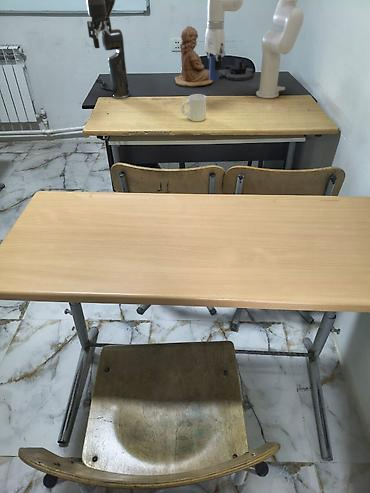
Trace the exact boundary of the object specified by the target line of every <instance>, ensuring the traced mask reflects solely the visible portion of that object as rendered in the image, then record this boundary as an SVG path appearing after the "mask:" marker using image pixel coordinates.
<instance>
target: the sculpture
mask: <svg viewBox="0 0 370 493" xmlns="http://www.w3.org/2000/svg"><path fill="white" fill-rule="evenodd" d="M180 38H181V43H180V44H179V48H180V54H181V56H180V60H181V68H182V69H181V74H180V75H178V76H175V77H174V81H175V84H177V85H178V86H181V87H201V86H208V85H210V84H212V83H213V82H214V80H210V79H209V69H208V68H207V69H205V65H204V64H203V63H202V59H201V57H200V56H199V54H198V53H197V52H196V51H195V50H194V49H195V48H196V47H197V44H198V43H197V39H198V38H199V34H198V30H197V29H196V28H195V27H192V26H186V27H185V28H184V29H182V31H181V35H180Z"/></svg>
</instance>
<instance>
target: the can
mask: <svg viewBox="0 0 370 493" xmlns="http://www.w3.org/2000/svg"><path fill="white" fill-rule="evenodd" d="M218 57H219V55H218ZM215 61H216V55H215V54H214V55H212V56H210V67H209V68H208V70H209V79H210V80H213V81H219V70H215Z"/></svg>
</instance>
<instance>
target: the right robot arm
mask: <svg viewBox="0 0 370 493" xmlns="http://www.w3.org/2000/svg"><path fill="white" fill-rule="evenodd" d="M297 2H298V0H278V2H277V5H276V8H275V10H274V13H273V17H272V24H273V26H275V27H277V28H279V29H283V31H282V30H278V29H270V30H267V31H266V32H265V33H264V34H263V35H262V36H263V37H262V38H261V48H262V58H261V69H260V78H259V86H258V87H259V88H258V90H256V92H255V95H256V97H259V98H261V99H275V98H277V97H279V95H280V92H282V91H285V90H286V87H285V86H280V85H278V82H279V74H280V67H281V55H286V54H289V53H290V52H292V50H293V48H294V46H295V44H296V42H297V40H298V36H299V34H300V31H301V29H302V26H303V23H304V11H303V10H302V8H300V7H298V6H297ZM243 4H244V0H207V28H206V30H205V34H204V35H205V38H204V51H205V53H206V56H207V69H209V67H210V56H212V55H216V61H215V70H222V61H223V58H224V57H226V51H225V47H226V41H225V39H226V38H225V12H237V11H239V10H240V9H241V8H242V6H243ZM218 56H219V57H218Z"/></svg>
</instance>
